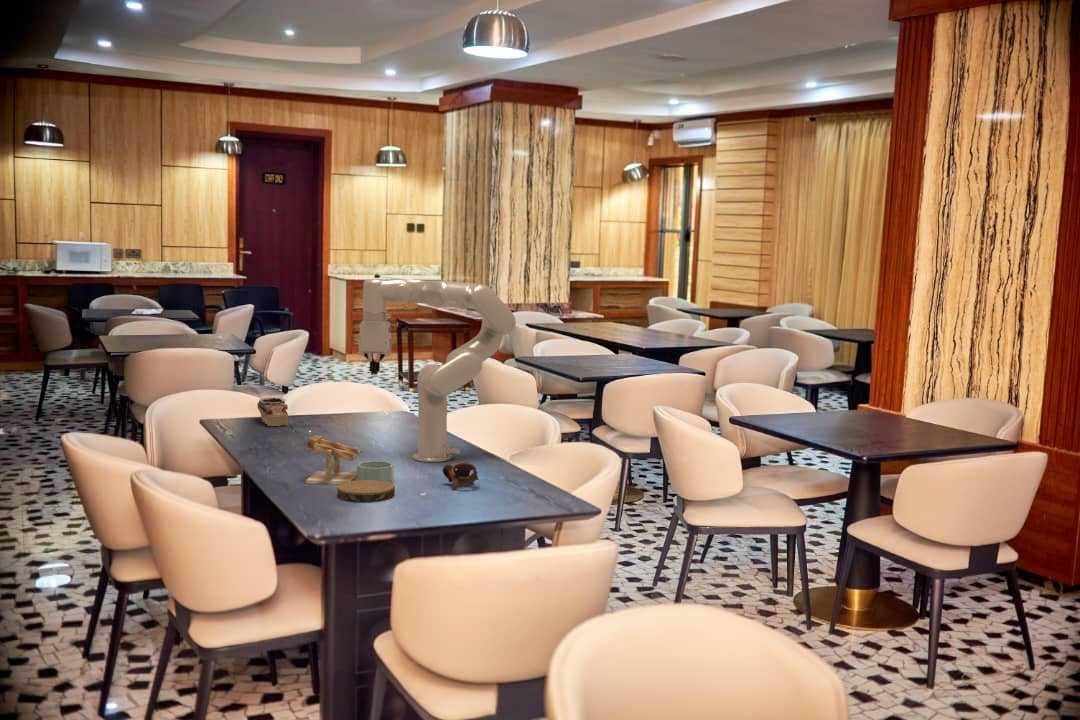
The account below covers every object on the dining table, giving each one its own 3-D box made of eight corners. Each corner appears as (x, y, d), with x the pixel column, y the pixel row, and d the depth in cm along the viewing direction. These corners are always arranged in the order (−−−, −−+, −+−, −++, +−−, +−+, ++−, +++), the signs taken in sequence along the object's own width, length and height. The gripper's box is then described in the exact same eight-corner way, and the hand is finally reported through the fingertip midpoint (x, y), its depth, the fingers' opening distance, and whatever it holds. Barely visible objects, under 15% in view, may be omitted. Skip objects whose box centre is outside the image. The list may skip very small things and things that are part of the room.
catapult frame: (358, 475, 308) (358, 443, 306) (349, 484, 296) (349, 451, 295) (316, 474, 308) (316, 442, 307) (305, 483, 296) (305, 449, 295)
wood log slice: (370, 506, 273) (370, 495, 272) (325, 498, 280) (325, 487, 280) (405, 494, 286) (406, 484, 286) (362, 487, 294) (362, 477, 294)
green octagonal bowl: (395, 477, 306) (395, 461, 306) (389, 485, 296) (389, 468, 295) (362, 476, 307) (362, 460, 306) (354, 484, 296) (354, 467, 296)
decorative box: (253, 428, 383) (253, 403, 382) (249, 420, 401) (249, 396, 400) (288, 427, 387) (288, 402, 386) (282, 418, 406) (282, 395, 405)
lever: (362, 452, 312) (365, 442, 312) (351, 462, 297) (353, 452, 296) (319, 439, 313) (322, 429, 312) (305, 449, 297) (308, 439, 296)
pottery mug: (483, 486, 301) (484, 465, 296) (467, 505, 294) (468, 485, 289) (449, 471, 305) (449, 451, 300) (432, 490, 298) (432, 470, 293)
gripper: (400, 317, 327) (399, 373, 329) (354, 316, 327) (354, 371, 329) (395, 318, 319) (395, 375, 321) (349, 317, 320) (349, 374, 322)
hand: (374, 373), depth 325 cm, fingers closed
